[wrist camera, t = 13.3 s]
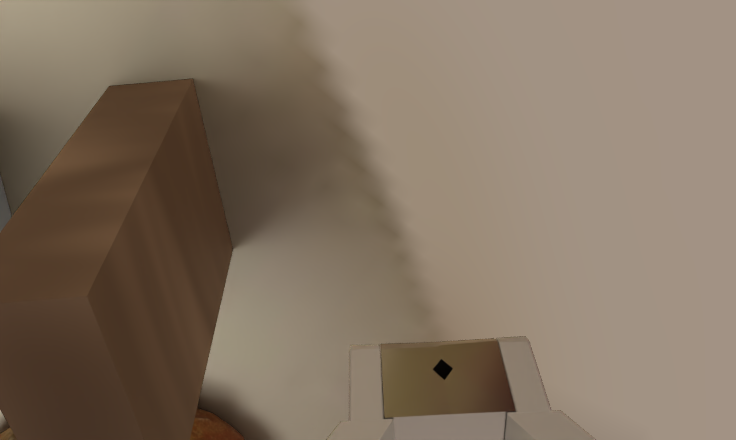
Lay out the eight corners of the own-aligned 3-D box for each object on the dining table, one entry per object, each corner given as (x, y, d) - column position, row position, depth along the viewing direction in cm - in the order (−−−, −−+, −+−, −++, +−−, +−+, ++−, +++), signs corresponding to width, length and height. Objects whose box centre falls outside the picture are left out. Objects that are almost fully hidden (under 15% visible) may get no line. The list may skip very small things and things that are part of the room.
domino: (192, 78, 16) (86, 296, 9) (233, 249, 19) (173, 511, 12) (109, 86, 16) (-57, 308, 9) (161, 255, 19) (62, 520, 12)
